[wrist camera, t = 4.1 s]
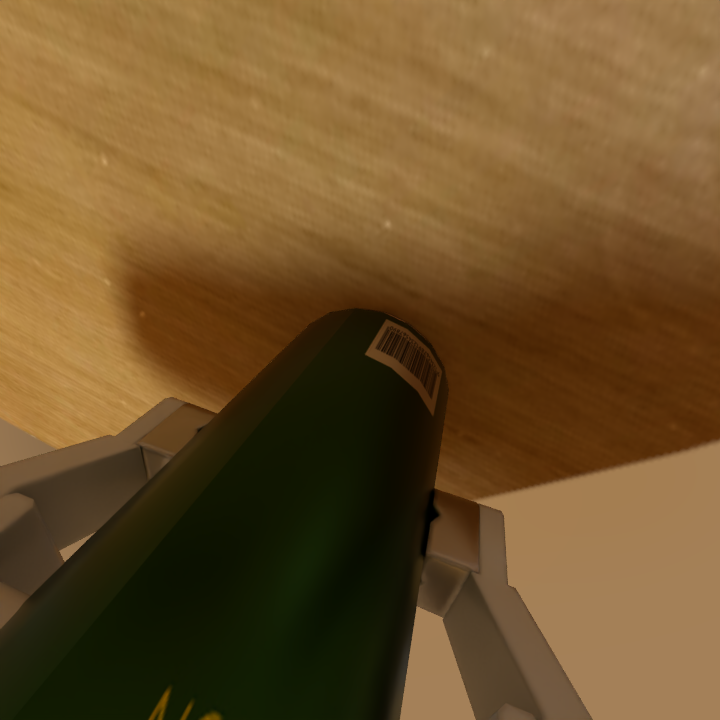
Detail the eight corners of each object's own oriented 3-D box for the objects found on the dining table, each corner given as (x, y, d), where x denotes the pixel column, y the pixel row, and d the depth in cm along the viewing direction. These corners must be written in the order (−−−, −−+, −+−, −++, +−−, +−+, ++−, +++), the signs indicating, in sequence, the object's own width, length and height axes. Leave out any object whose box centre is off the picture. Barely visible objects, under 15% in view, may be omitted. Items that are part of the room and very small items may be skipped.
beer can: (340, 266, 11) (-968, 1285, 1) (486, 363, 11) (504, 2052, 1) (278, 382, 14) (-231, 948, 4) (394, 458, 14) (181, 1184, 4)
